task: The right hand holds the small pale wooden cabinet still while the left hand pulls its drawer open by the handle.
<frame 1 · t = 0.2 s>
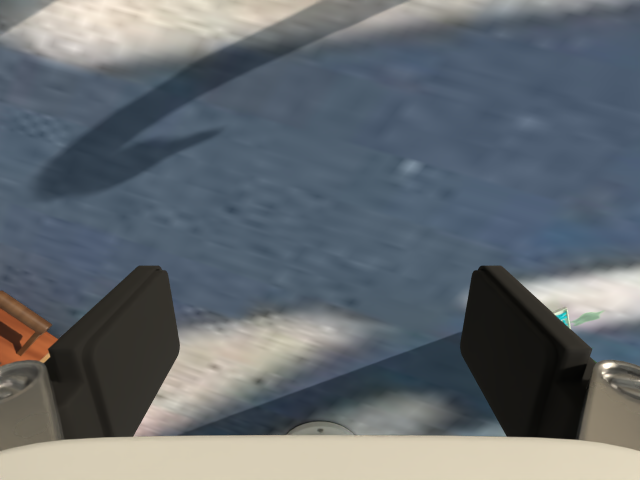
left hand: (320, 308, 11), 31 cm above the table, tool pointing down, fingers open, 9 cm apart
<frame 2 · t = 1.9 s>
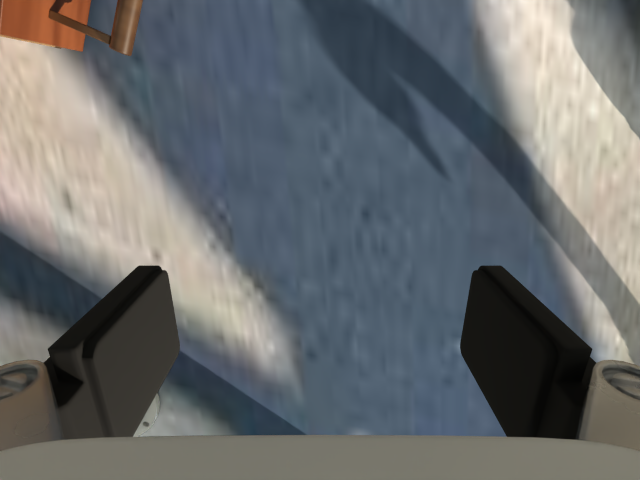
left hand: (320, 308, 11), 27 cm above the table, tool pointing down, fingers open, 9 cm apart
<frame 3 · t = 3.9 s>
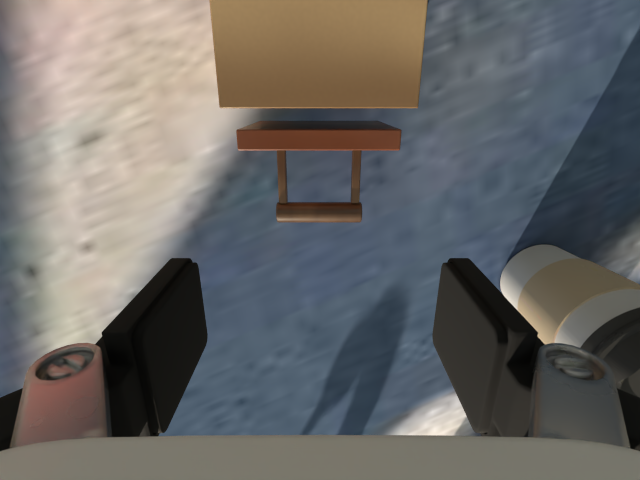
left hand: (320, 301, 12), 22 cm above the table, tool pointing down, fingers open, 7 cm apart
coffee cup: (534, 275, 36), on the table
drawer: (318, 46, 24), point 5 cm above the table, slide at 1.2 cm
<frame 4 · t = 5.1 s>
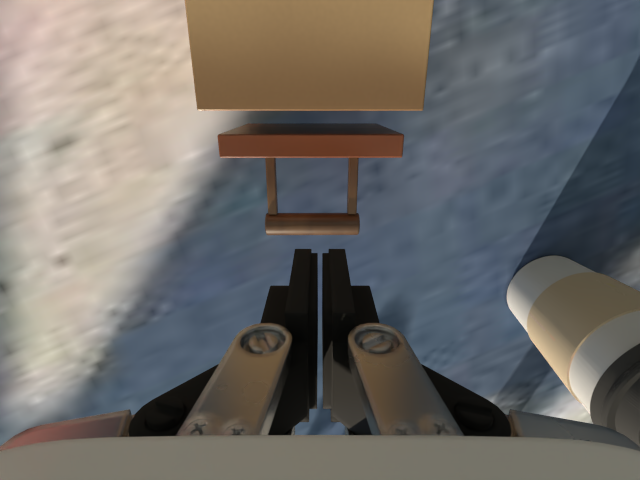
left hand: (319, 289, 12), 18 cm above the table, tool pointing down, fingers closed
coffee cup: (543, 288, 33), on the table
drawer: (311, 40, 21), point 5 cm above the table, slide at 1.2 cm
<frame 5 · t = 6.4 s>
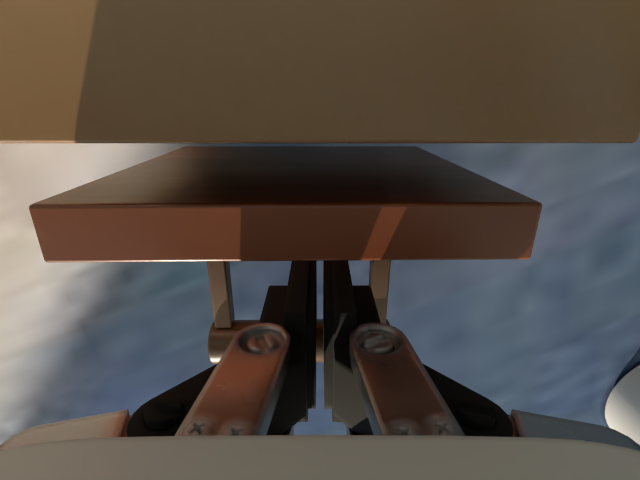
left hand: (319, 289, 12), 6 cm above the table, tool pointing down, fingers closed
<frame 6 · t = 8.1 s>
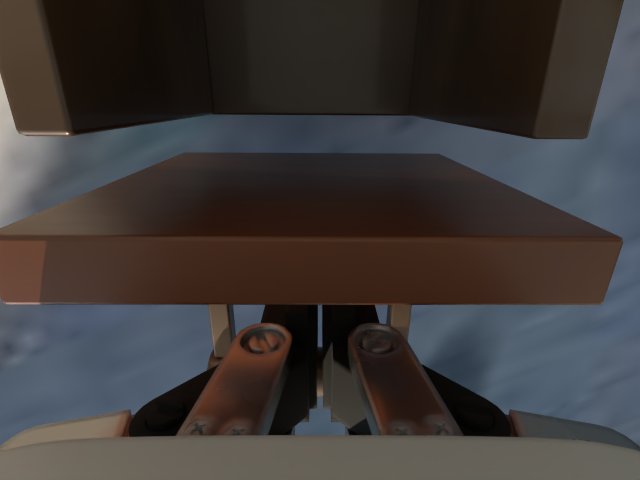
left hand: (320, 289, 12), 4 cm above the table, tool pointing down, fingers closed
when the right hand's fingers open (6 cm above the table, at t = 9.8 s): cabinet stays where it is, on the table.
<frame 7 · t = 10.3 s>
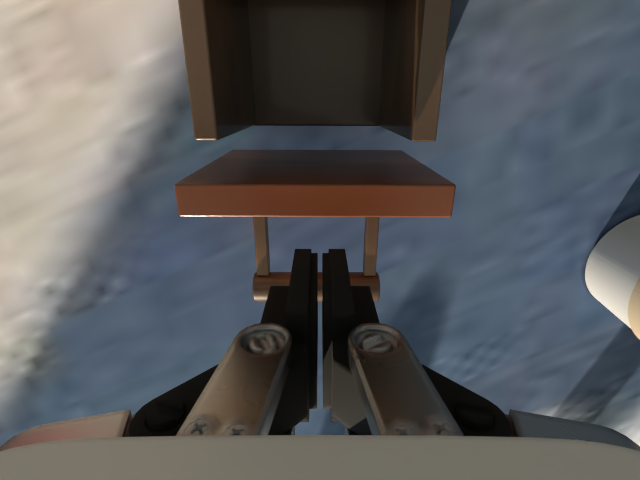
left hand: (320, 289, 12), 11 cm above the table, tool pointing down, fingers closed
coffee cup: (635, 260, 24), on the table
drawer: (316, 42, 15), point 5 cm above the table, slide at 8.3 cm
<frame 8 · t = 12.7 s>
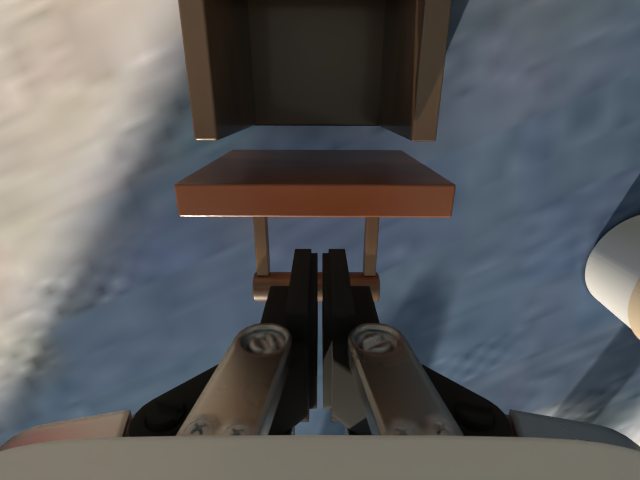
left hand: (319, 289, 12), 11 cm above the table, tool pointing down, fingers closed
coffee cup: (635, 260, 24), on the table
drawer: (316, 42, 15), point 5 cm above the table, slide at 8.3 cm
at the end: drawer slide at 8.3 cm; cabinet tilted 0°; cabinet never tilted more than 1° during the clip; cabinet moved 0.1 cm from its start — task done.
